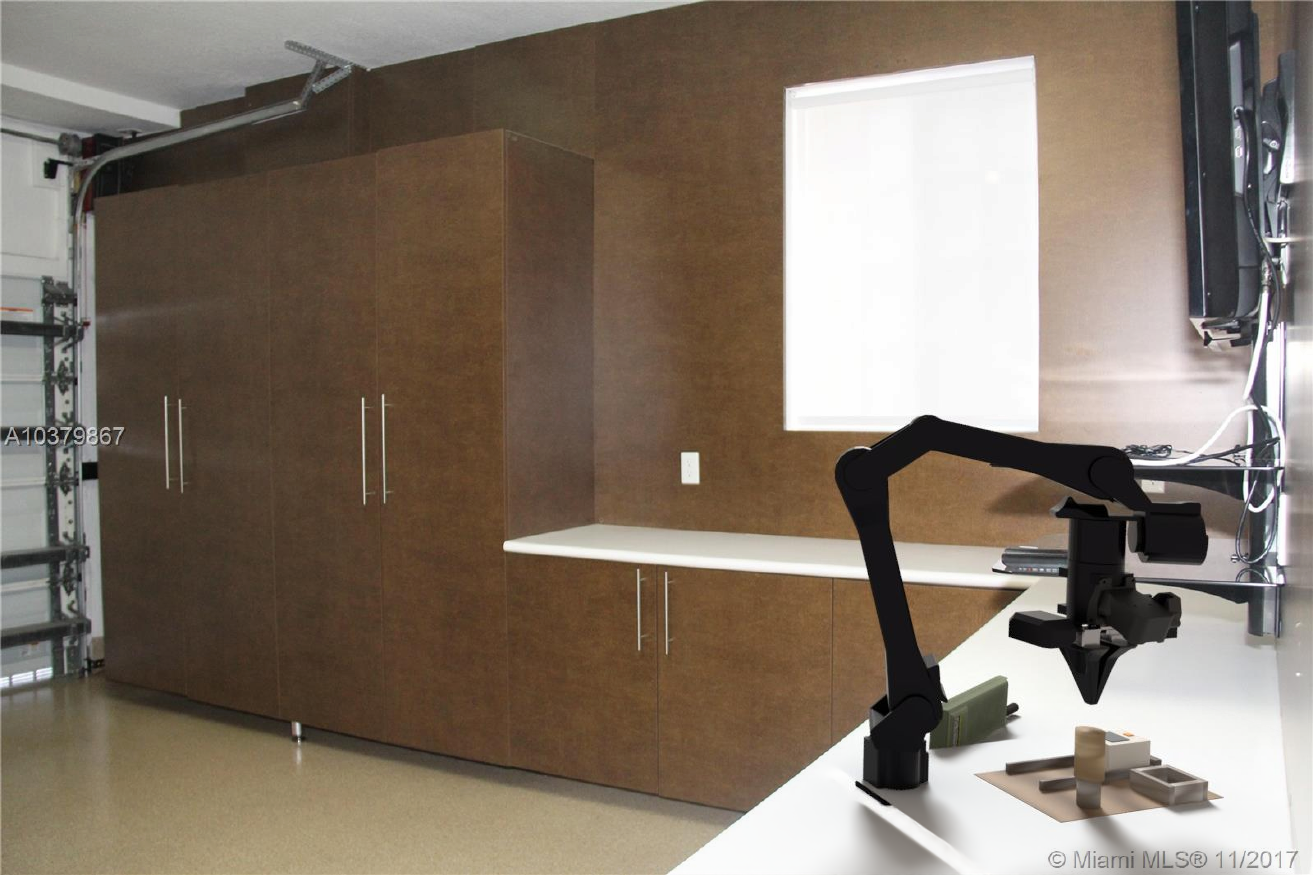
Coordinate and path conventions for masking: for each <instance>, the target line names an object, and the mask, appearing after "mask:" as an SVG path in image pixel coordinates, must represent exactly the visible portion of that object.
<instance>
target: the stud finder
mask: <svg viewBox="0 0 1313 875" xmlns="http://www.w3.org/2000/svg"><path fill="white" fill-rule="evenodd" d="M1103 730H1104V731H1105V732H1106V747H1105V771H1113V770H1120V769H1128V768H1135V767H1143V766H1150V755H1151V739H1148V738H1145V737H1143V736H1140V735H1137V734H1135V733H1133V732H1130V731H1127V730H1126V729H1123V728H1120V727H1119V728H1113V729H1112V728H1111V729H1103Z"/></svg>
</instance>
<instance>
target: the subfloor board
mask: <svg viewBox="0 0 1313 875" xmlns="http://www.w3.org/2000/svg"><path fill="white" fill-rule="evenodd" d="M1162 761H1163V759H1161V758H1159V757H1156V756H1153V755H1152V754H1150V766H1143V767H1135V768H1128V769H1120V770H1113V771H1105V780H1104V781H1103V782H1101V808H1100V809H1096V810H1091V809H1085V808H1082V807H1079V806H1078V805H1077V804H1076V788H1077V778H1076V777H1075V776H1074V754H1067V755H1061V756H1052V757H1044V758H1036V759H1028V760H1020V761H1019V760H1018V761H1012V762H1011V761H1010V762H1006V763H1005V769H1002V770H995V771H993V770H992V771H986V772H979V773H974V774H973V775H974V776H976V777H977V778H980V780H981V779H982V780H983V781H986V782H987V783H988V784H991V785H993V786H994V787H996V788H998V789H999V790H1002V791H1003V792H1005V793H1007V794H1009V795H1010V796H1013V797H1014V798H1016V799H1018V800H1019V801H1021V802H1023V803H1025V804H1026V805H1028V806H1030V807H1032V808H1034V809H1035V810H1038V811H1039V812H1041V813H1043V814H1045V815H1047V816H1048V817H1050V818H1052V819H1054V820H1056V821H1057V822H1059V823H1067V822H1073V821H1081V820H1086V819H1093V818H1099V817H1100V818H1101V817H1105V816H1113V815H1119V814H1126V813H1132V812H1140V811H1146V810H1153V809H1159V808H1164V807H1165V808H1166V807H1171V806H1179V805H1184V804H1190V803H1198V802H1204V801H1211V800H1218V799H1222V798H1223V799H1224V796H1222V795H1220V794H1217V793H1215V792H1212V791H1210V790H1209V781H1208V780H1206V779H1204V778H1202V777H1198V776H1197V775H1194V774H1192V773H1189V772H1186V771H1184V770H1182V769H1179V768H1177V767H1175V766H1172V765H1170V764H1167V763H1166V764H1162V763H1163V762H1162Z"/></svg>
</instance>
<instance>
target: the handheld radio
mask: <svg viewBox="0 0 1313 875" xmlns="http://www.w3.org/2000/svg"><path fill="white" fill-rule="evenodd" d="M1008 694H1009V681H1008V677H1007V676H1003V675H996V676H993V677H992V678H990V679H988V680H985V681H984V682H982V683H979V684H977V685H975V686H973V687H971V688H969V689H967V690H965V691H963V692H961V693H959V694H956V695H954V696H953V697H950V698H947V699H948V702H947V703H945V702H942V701H941V703H942V706H943V717H942V720H941V721H940V723H939V724H938V726H937V727H936V728H935V729H934V730H933V731H931V732H930V733H929V742H928V750H936V749H937V750H938V749H939V750H940V749H947V748H954V747H956V748H957V747H963V746H964V747H965V746H970V745H974V744H975V743H977V742H979V741H981V740H982V739H984V738H986V737H988V736H990V735H991V734H993V733H995V732H997V730H999V729H1001V728H1003V727H1005V726H1006V725H1007V717H1009V716H1011V715H1013V714H1015V713H1016V712H1018V711H1019V709H1020V707H1019V704H1018V703H1016V702H1012V703H1010V704H1008V698H1009V697H1008V696H1009V695H1008Z"/></svg>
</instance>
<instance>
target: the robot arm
mask: <svg viewBox="0 0 1313 875" xmlns="http://www.w3.org/2000/svg"><path fill="white" fill-rule="evenodd" d="M929 452H938V453H943V454H947V455H952V456H956V457H960V458H965V459H968V460H974V461H978V462H981V463H986V464H991V465H995V466H999V467H1004V468H1007V469H1013V470H1017V471H1021V472H1026V473H1030V474H1034V475H1037V476H1039V477H1041V478H1044V479H1046V480H1049V481H1051V482H1053V483H1055V484H1058V485H1060V486H1062V487H1065V488H1067V489H1070V490H1072V491H1074V492H1077V493H1080V494H1082V495H1086V496H1088V497H1090V498H1094V499H1097V500H1100V501H1108V502H1109V503H1111V504H1112V505H1115V506H1117V507H1121V508H1124V509H1127V510H1129V511H1132V513H1120V512H1119V513H1118V512H1109V511H1108V508H1107V506H1106V504H1104V503H1090V502H1077V501H1075V499H1074V498H1073V496H1070V495H1067V494H1066V495H1064V496H1063V498H1061V499H1060V501H1059V502H1058V503H1057V504H1055V505H1054V506H1052V507H1050V509H1049V511H1048V513H1049V514H1050V516H1052V517H1055V518H1057V519H1067V520H1068V533H1067V534H1068V535H1067V536H1068V537H1067V539H1068V540H1067V564H1066V566H1058V576H1059V577H1062V578H1065V579H1066V587H1065V588H1066V589H1065V592H1066V593H1065V597H1066V598H1065V602H1064V603H1057V605H1056V606H1057V609H1056V610H1057V611H1056V612H1057V614H1055V613H1051V612H1048V611H1044V610H1026V611H1015V612H1014V613H1013V614H1012V615H1011V616H1010V618H1009V620H1008V638H1010V639H1013V640H1017V641H1019V642H1023V643H1027V644H1029V645H1033V646H1036V647H1038V648H1042V649H1048V650H1049V649H1051V650H1052V649H1058V650H1059V652H1060V653H1061V655H1062V657H1063V659H1064V661H1065V662H1066V665H1067V666H1068V668H1069V671H1070V673H1071V675H1072V677H1073V680H1074V681H1075V684H1076V686H1077V689H1078V692H1079V693H1080V695H1081V697H1082V700H1083V702H1084V704H1087V705H1088V706H1089V705H1090V706H1094V705H1098V704H1099V701H1100V699H1101V696H1102V695H1103V693H1104V692H1103V691H1104V689H1105V687H1106V685H1107V683H1108V680H1109V678H1110V675H1111V673H1112V670H1113V669H1114V667H1115V665H1116V663H1117V660H1118V659H1119V658H1120V657H1121V656H1122V655H1124V654H1126V653H1127V652H1129V651H1130V650H1135V649H1136V648H1137V647H1138V646H1139V645H1140V646H1141V645H1145V644H1146V643H1147V644H1148V643H1157V644H1161V643H1164V642H1165V640H1167V639H1177V638H1178V628H1180V626H1182V622H1181V618H1182V612H1183V611H1182V609H1183V608H1182V599H1181V597H1180V596H1178V595H1177V594H1175V593H1173V592H1171V591H1165V592H1164V591H1162V592H1158V593H1156V594H1155V595H1154V596H1153V594H1151V593H1145V594H1144V593H1142V592H1139V591H1138V590H1137V585H1136V583H1137V580H1136V577H1135V573H1134V572H1133V573H1132V572H1130V571H1129V572H1128V571H1126V553H1127V552H1126V551H1127V550H1126V549H1127V548H1126V547H1127V546H1126V545H1128V550H1129V551H1130V553H1132V554H1137V557H1138V559H1139V561H1140V563H1143V564H1158V565H1175V566H1177V565H1179V566H1181V565H1182V566H1197V567H1198V566H1202V565H1203V564H1204V562H1205V560H1206V559H1207V555H1208V550H1209V539H1210V538H1209V535H1208V534H1207V529H1206V522H1205V519H1204V517H1203V515H1202V504H1201V503H1200V502H1197V501H1194V500H1193V501H1192V500H1178V501H1173V502H1172V501H1168V502H1167V501H1152V500H1151V499H1150V497H1148V495H1147V494H1146V493H1145V491H1144V490H1143V488H1142V487H1141V486H1140V484H1139V483H1138V482H1137V480H1136V479H1135V467H1134V464H1133V462H1132V460H1131V458H1130V457H1129V455H1128V454H1127V453H1126V452H1125V451H1124V450H1122V449H1120V448H1117V447H1115V446H1110V445H1103V444H1096V443H1095V444H1093V443H1075V442H1055V441H1053V442H1052V441H1040V440H1035V439H1030V438H1026V437H1022V436H1017V435H1012V434H1009V433H1003V432H1000V431H995V430H990V429H986V428H983V427H977V426H973V425H968V424H963V423H958V422H954V421H949V420H946V419H942V418H940V417H938V416H936V415H933V414H921V415H918V416H916V417H915V418H913V419H911V421H910V422H909V423H908V424H906V425H905V426H903V427H900V428H899V429H897V430H896V431H894V432H892V433H890V434H889V435H887V436H885V437H884V438H882V439H880V440H879V441H877V442H875V443H874V444H871V445H870V446H868V447H866V446H863V445H860V446H853V447H850V448H847V449H846V450H844V452H842V453H841V454H840V456H839V457H838V459H837V460H836V463H835V467H834V468H835V469H834V480H835V484H836V486H837V489H838V490H839V494H840V496H841V498H842V500H843V503H844V505H845V507H846V509H847V511H848V514H849V516H850V518H851V520H852V523H853V524H854V527H855V529H856V531H857V534H858V538H859V542H860V545H861V546H860V548H861V551H862V556H863V559H864V563H865V569H866V572H867V577H868V581H869V585H870V588H871V593H872V598H873V602H874V606H875V611H876V615H877V619H878V620H877V621H878V623H879V628H880V633H881V635H882V636H881V637H882V641H883V645H884V657H885V681H886V683H885V684H886V693H884V694H883V696H881V697H880V698H879V699H878V700H877V701H875V702H874V703H873V704H872V705H871V706H870V707H868V711H867V712H868V724H869V726H868V727H869V735H865V736H863V753H862V754H863V758H862V762H863V763H862V764H863V765H862V780H864V781H865V782H867V783H868V784H870V785H871V786H872V787H874V788H875V789H877V790H884V789H885V790H890V791H910V790H914V789H917V788H919V787H920V785H923V784H926V783H928V782H929V773H930V772H929V771H930V765H929V764H930V752H928V751H927V740H926V739H925V737H926V735H927V734H930V732H931V731H933V730H934V729H935V728H936V727H937V726H938V724H939V723H940V721H941V720H942V717H943V706H942V702H945V703H947V702H948V699H949V698H948V697H947V693H946V691H945V688H944V686H943V684H942V681H941V670H940V665H939V662H938V659H937V656H936V654H935V652H932V653H929V654H926V655H924V654H923V652H922V650H921V648H920V646H919V644H918V642H917V637H916V633H915V628H914V625H913V619H912V616H911V612H910V608H909V603H908V598H907V595H906V591H905V586H904V582H903V581H904V580H903V577H902V573H901V568H900V564H899V560H898V556H897V553H896V552H897V551H896V548H895V544H894V539H893V535H892V534H893V533H892V530H891V525H890V492H889V491H890V490H889V478H890V477H891V476H893V475H895V474H896V473H898V472H899V471H901V470H903V469H904V468H906V467H907V466H909V465H911V464H912V463H914V462H915V461H917V460H918V459H919V458H921V457H922V456H925V455H926V454H927V453H929ZM1127 522H1128V523H1127ZM1127 525H1128V527H1127ZM1059 614H1060V615H1059ZM1062 615H1064V616H1062ZM854 783H855V784H854V785H855V787H856V788H857V789H859V790H860V791H862V792H863V793H865V794H866V795H868V796H869V797H871V798H872V799H874V800H876V802H878V803H880V804H881V805H883V806H888V807H889V806H893V804H892V803H890V802H889V801H887V800H886V799H885V798H883V797H881V796H880V795H879V794H878V793H876V792H875V791H873V790H871V788H868V786H866V785H865V784H863V783H861V782H860V781H858V780H855V782H854Z"/></svg>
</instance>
